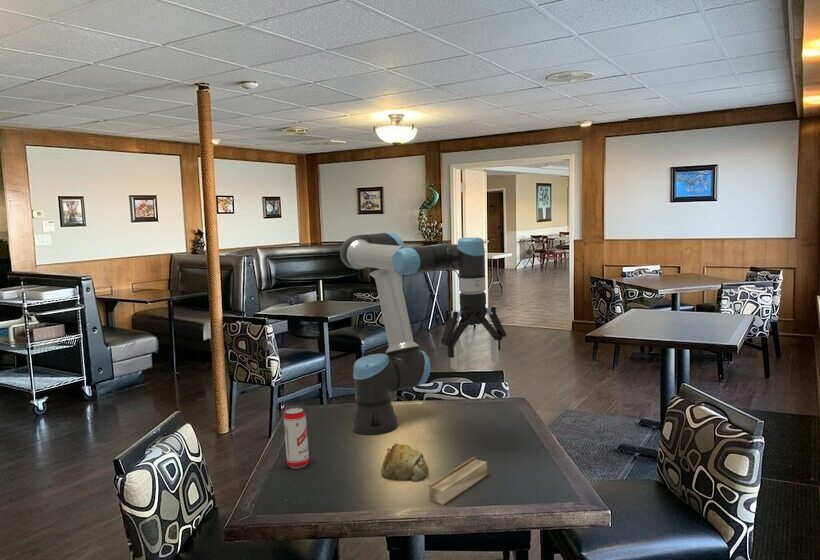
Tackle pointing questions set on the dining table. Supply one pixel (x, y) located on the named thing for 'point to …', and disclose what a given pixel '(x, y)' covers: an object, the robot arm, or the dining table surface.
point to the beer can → (296, 438)
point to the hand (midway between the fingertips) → (474, 365)
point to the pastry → (404, 463)
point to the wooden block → (457, 481)
